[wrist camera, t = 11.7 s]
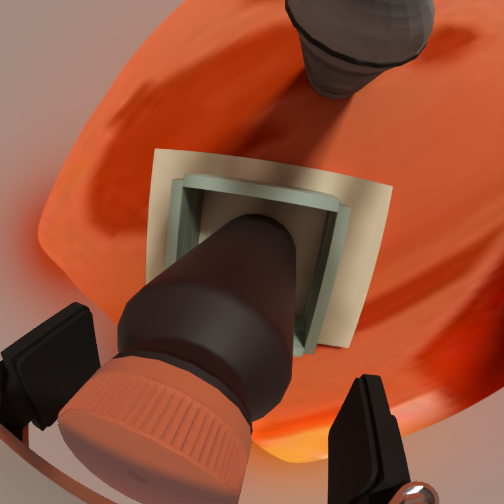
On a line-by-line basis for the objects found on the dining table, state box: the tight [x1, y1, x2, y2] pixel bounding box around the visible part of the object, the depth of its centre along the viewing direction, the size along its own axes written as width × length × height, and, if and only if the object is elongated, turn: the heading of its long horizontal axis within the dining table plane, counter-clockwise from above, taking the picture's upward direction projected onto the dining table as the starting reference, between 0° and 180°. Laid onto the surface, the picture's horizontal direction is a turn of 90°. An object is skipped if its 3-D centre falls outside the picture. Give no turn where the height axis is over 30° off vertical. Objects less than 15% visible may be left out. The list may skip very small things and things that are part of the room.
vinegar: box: [58, 214, 296, 504], centre depth 14 cm, size 7×7×20 cm
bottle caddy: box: [146, 149, 393, 357], centre depth 22 cm, size 20×15×6 cm
